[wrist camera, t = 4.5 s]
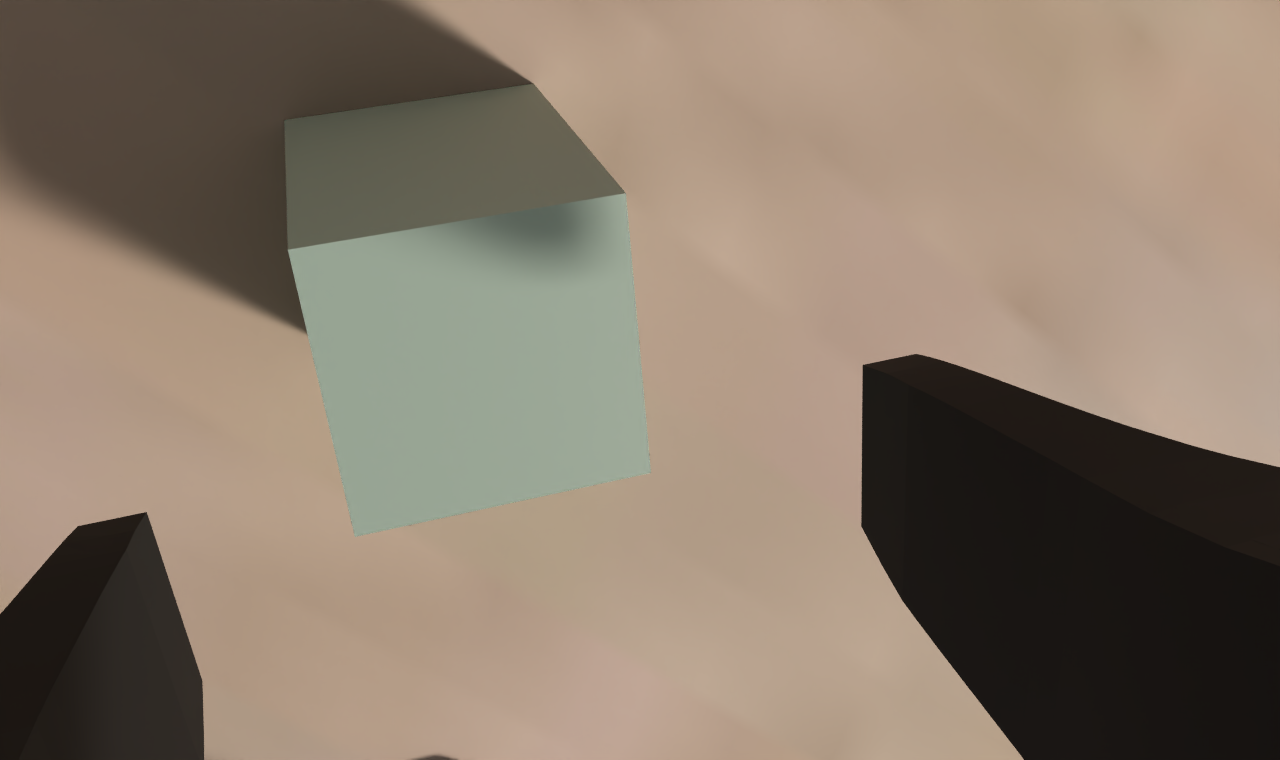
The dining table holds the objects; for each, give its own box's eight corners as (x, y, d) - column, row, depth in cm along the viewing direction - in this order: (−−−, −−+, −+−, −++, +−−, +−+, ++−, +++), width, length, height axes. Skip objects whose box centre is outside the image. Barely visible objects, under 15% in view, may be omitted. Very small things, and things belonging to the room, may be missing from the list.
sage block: (560, 305, 21) (651, 473, 16) (334, 347, 21) (354, 536, 16) (533, 83, 20) (625, 193, 14) (283, 119, 19) (287, 250, 14)
